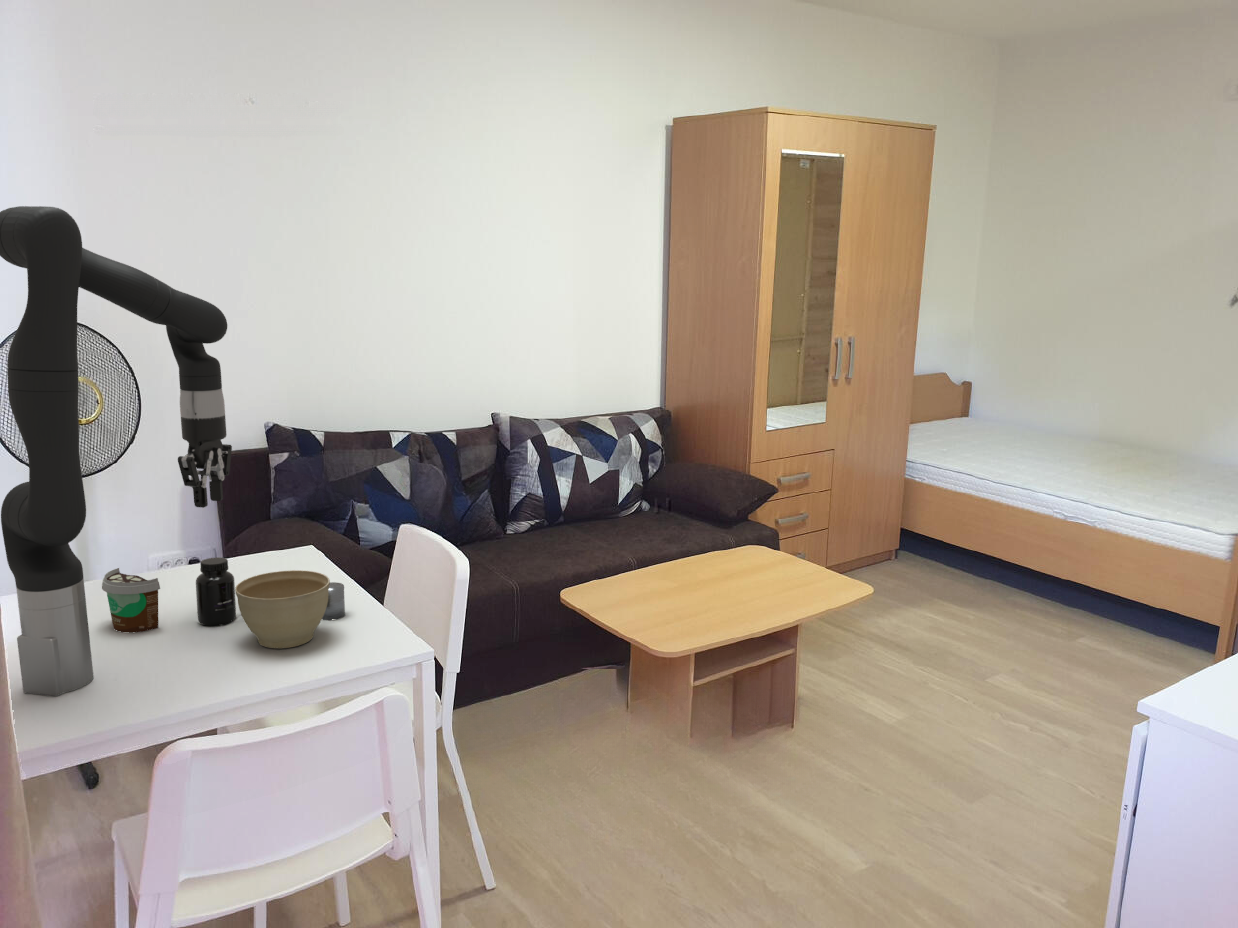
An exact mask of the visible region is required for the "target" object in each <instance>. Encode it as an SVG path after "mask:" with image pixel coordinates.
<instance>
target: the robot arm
mask: <svg viewBox="0 0 1238 928" xmlns="http://www.w3.org/2000/svg"><path fill="white" fill-rule="evenodd" d="M0 257H1V258H2V259H3V260H4V261H5V262H7V263H9V264H11V265H13V266H16V267H19V268H23V269H26V271H27V272H26V273H27V300H26V307H25V310H24V314H23V315H22V318H21V320H20V323H19V325H18V326H17V329H16V332H15V334H14V337H13V338H12V341H11V343H10V346H9V349H8V354H7V365H6V367H7V392H8V394H7V395H8V400H9V406H10V409H11V412H12V415H13V418H14V421H15V423H16V426H17V428H18V431H19V434H20V435H21V438H22V440H23V444H24V445H25V449H26V453H27V459H28V473H29V474H28V477H29V478H28V481H26V482H25V481H24V482H21V483H20V484H18V485H15V486H14V487H13V488H11V489H10V490H9V491H8V492H7V494H6V495H5V497H4V499H3V501H2V504H1V509H0V524H1V531H2V537H3V542H4V543H3V544H4V550H5V555H6V561H7V565H8V567H9V570H10V571H11V573H12V575H13V577H14V582H15V588H16V598H17V604H18V613H19V615H18V616H19V621H20V622H19V623H20V630H21V632H20V633H21V634H20V635H18V636H17V637H16V641H17V651H18V657H19V659H18V660H19V667H20V668H19V669H20V676H21V683H22V692H23V693H24V692H28V693H27V694H34V695H36V694H37V695H42V696H43V695H44V696H45V695H46V696H53V697H58V696H60V695H61V694H64V693H68V692H71V691H75V690H77V689H80V688H83V687H85V686H87V685H88V684H89V683H90V682H92V681H93V679H94V666H93V658H92V649H91V640H90V639H91V638H90V629H89V620H88V617H89V616H88V609H87V599H86V589H85V587H86V586H85V579H84V568H83V564H82V561H81V560H80V559H79V558H78V556H77V555H75V553H74V551H73V550H72V548H71V546H70V544H69V543H71V542H73V541H74V540H75V539H76V538H77V537H78V536H79V534H80V533H81V532H82V530H83V528H84V526H85V522H86V517H87V505H86V504H87V503H86V502H87V501H86V494H85V489H84V482H83V475H82V467H81V459H80V458H81V457H80V423H79V422H80V421H79V420H80V419H79V393H80V391H79V387H80V386H79V385H80V384H79V359H78V301H79V300H78V299H79V290H80V289H82V290H84V291H87V292H89V293H92V295H96V296H98V297H100V298H101V299H104V300H106V301H108V302H111V303H112V304H115V305H116V306H118V307H120V308H122V309H124V310H126V311H128V312H130V313H132V314H133V315H136V316H137V317H140V318H141V319H144V320H146V321H148V322H150V323H153V324H156V325H161V326H165V329H166V333H167V338H168V341H169V343H170V347H171V351H172V353H173V356H174V359H175V361H176V365H177V367H178V379H179V389H180V390H179V393H180V394H179V411H180V413H179V414H180V425H181V426H180V427H181V437H182V439H183V440H184V441H186V442H187V443H188V448H187V454H186V455H183V456H182V455H180V456H178V457H177V462H178V466H179V471H180V473H181V478H182V482H183V485H184V486H185V487H191V488H192V493H193V504H194V507H195V508H202V509H203V508H207V507H208V505H209V504H208V491H207V490H208V489H207V480H208V479H209V480H210V481H209V482H208V484H209V499H210V501H211V502H212V501H213V502H220V501H222V500H224V491H223V490H224V488H223V487H224V486H223V481H224V480H225V478H226V476H227V477H228V476H229V475H230V472H231V463H232V462H231V460H232V451H233V446H232V444H227V443H226V444H225V443H222V440H224V439H226V437H227V422H226V407H225V406H226V405H225V398H224V393H223V385H222V384H223V382H222V381H223V380H222V370H221V363H220V361H219V360H218V359H217V358H216V357H214V356H212V355H210V354H208V352H206V349H205V346H204V344H205V345H207V344H214V343H217V342H219V341H221V340H222V339H223V338H224V337H225V335H226V334H227V331H228V322H227V321H228V320H227V318H226V316H225V314H224V312H222V310H220V308H219V307H217V306H216V305H215V304H213V303H211V302H209V301H208V300H205V299H202V298H199V297H197V296H194V295H192V294H189V293H186V292H184V291H180V290H179V289H178V290H177V289H175V288H173V287H171V286H170V285H168V284H167V283H165V282H163V281H162V280H159V279H158V278H157V277H154V276H152V275H151V274H148V273H147V272H145V271H142V270H140V269H139V268H136V267H133V266H131V265H129V264H126V263H123V262H119V261H117V260H114V259H111V258H109V257H106V256H102V255H101V254H98V253H96V252H93V251H91V250H89V249H87V248H84V247H83V240H82V233H81V230H80V227H79V225H78V223H77V222H76V220H75V218H73V216H71V215H70V214H69V212H67V211H66V210H64V209H62V208H59V207H55V206H40V205H39V206H38V205H37V206H32V205H31V206H26V205H25V206H23V205H22V206H13V207H8V208H6V209H3V210H1V211H0ZM79 288H80V289H79Z"/></svg>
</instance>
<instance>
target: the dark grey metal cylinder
mask: <svg viewBox="0 0 1238 928" xmlns="http://www.w3.org/2000/svg"><path fill="white" fill-rule="evenodd" d="M345 616H346V605H345V585H344V584H343V583H342V582H335V581H334V582H331V581H330V585H329V589H328V603H327V607H326V610H325V613H324V615H323V618H322V619H323V621H333V620H332V619H336V620H340V619H342V618H344V617H345Z"/></svg>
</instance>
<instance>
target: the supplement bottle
mask: <svg viewBox="0 0 1238 928" xmlns="http://www.w3.org/2000/svg"><path fill="white" fill-rule="evenodd" d="M199 563H200V572H201V574H199V575H198V576H197V577H196V579H195V594H196V609H197V610H196V611H197V621H198V623H199V624H200V625H202V626H205V627H218V626H224V625H228V624H230V623H232V622H234V620H236V617H237V607H236V592H235V588H236V585H235V584H236V583H235V576H234V575H233V573H232V572H230V571H229V560H228V559H227V558H225V557H208V558H205V559H202V560H201V561H200V562H199Z"/></svg>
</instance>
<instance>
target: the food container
mask: <svg viewBox="0 0 1238 928" xmlns="http://www.w3.org/2000/svg"><path fill="white" fill-rule="evenodd" d="M101 590H102V591H104V592H105V593H106V596H107V602H108V607H109V611H110V617H111V623H112V628H113V630H114V629H115V630H114V631H116V630H117V631H116V632H118V631H121V632H120V633H123V632H129V633H130V634H134V633H133V632H135V633H143V632H148V631H153V630H156V629H158V628H159V590H161V584H160V581H159V578H158V577H156V578H152V579H145V578H144V577H141V576H139V575H136V574H135V575H133V574H131V575H130V574H126V573H122V572H121V571H120V567H118V568H113V569H112V570H110V571H108V572H107V573H105V574H104V577H103V579H102V584H101ZM129 633H128V634H129Z"/></svg>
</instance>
